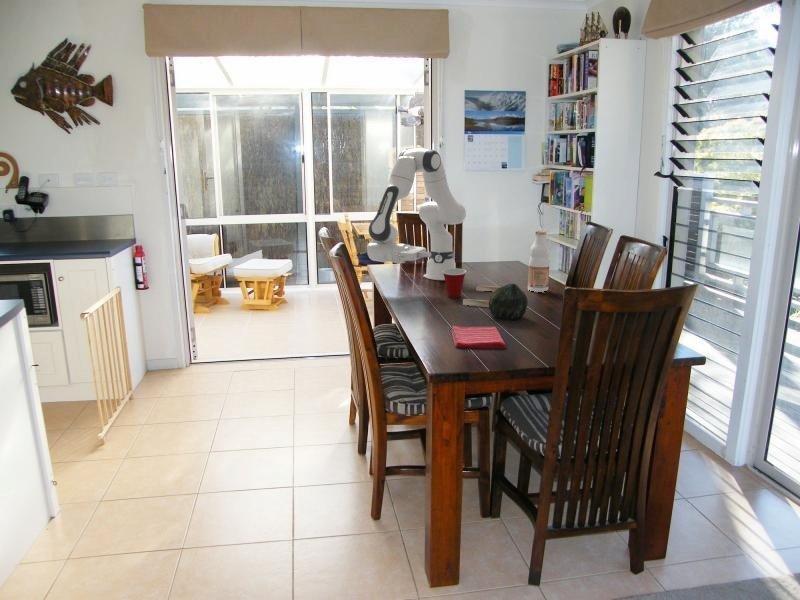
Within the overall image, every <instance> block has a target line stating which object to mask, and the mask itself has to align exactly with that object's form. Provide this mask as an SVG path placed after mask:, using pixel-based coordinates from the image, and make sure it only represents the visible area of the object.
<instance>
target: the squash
mask: <svg viewBox="0 0 800 600" xmlns="http://www.w3.org/2000/svg"><path fill="white" fill-rule="evenodd" d="M499 287H500V288H498V289H496V290H495V291H494V292H491V295H490V298H489V299H488V301H489V307H488V309H489V311H490V314H491V315H492V317H495V318H497V319H498V318H500V319H503V318H504V319H506V320H511V321H516V320H520V319H522V317H524V316H525V314H526V312H527V308H528V306H529V305H528V303H529V302H528V297H527V295H526V293H524V291H523V290H522V289H521V288H520V287H519V286H518V285H517V284H516V283H509V284H505V285H503V286H499Z"/></svg>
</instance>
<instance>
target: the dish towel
mask: <svg viewBox="0 0 800 600" xmlns="http://www.w3.org/2000/svg"><path fill="white" fill-rule="evenodd" d="M451 335H452V339H453V343H454V346H455V348H456V349H506V347H507V345H506V343H505V342H504V339H503V338H502V336H501V333H500V332H499V330H498V329H497V327H496V326H458V325H451Z"/></svg>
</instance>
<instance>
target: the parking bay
mask: <svg viewBox="0 0 800 600" xmlns="http://www.w3.org/2000/svg"><path fill="white" fill-rule="evenodd" d="M500 287H501V286H496V285H495V286H494V285H491V286H489V285H480V284H479V285H476V292H484V291H492V292H491V293H493V292H494V291H495V290H496V289H498V288H500ZM467 305H469V306H470V307H480V308H481V307H482V308H483V307H484V308H489V300H482V299H468V298H463V299H462V306H467ZM469 306H468V307H469Z"/></svg>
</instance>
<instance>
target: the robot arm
mask: <svg viewBox="0 0 800 600" xmlns="http://www.w3.org/2000/svg"><path fill="white" fill-rule="evenodd" d="M397 157H398V158H397V159H396V161H395V163H394V165H393V168H392V170H391V173H390V176H389V180H388V182H387V187H386V189H385V191H384V194H383V196H382V199H381V201H380V204H379V207H378V209H377V213H376V214H375V217H374V218H373V219H372V221H371V222H370V223H369V226H368V233H369V236H370V238H372V239H371V241H370V242H369V243H368V244H367V245H366V254H367V257H368V258H369V259H370V260H371V261H374V262H381V263H387V262H388V263H389V262H391V263H396V264H399V263H400V264H405V263H406V261H407V262H414V261H417V260H420V259H421V258H429V259H428V260H427V262H426V273H425V274H423V278H426V279H428V280H434V281H445V278H444V274H443V272H442V271H443V270H445V269H450V268H457V267H456V265H457V264H456V261H455V260H454V249H453V235H452V234H451V232H449V231H448V230H447V229H446V227H445V225H452V226H453V225H459V224H462V223H463V222H464V221H465V218H466V215H467V213H466V212H467V211H466V208H465V206H464V205H462V204H461V203H460V202H459V201H458V200H457V199H456V198H455V197H454V196H453V194H452V192H451V190H450V187H449V184H448V180H447V175H446V170H445V168H444V165H443V164H444V163H443V162H442V157H441V156H440V153H439V152H438V151H436V150H434V149H427V148H422V147H421V148H420V147H419V148H405V149H403V150H402V151H401V152H400V153H399V155H398V156H397ZM416 173H422V177H423V182H424V187H425V191H426V195H427V196H428V197H429V198H430V199H432V200H433V201H427V202H423V203H422V204H421V205H420V207H419V208H418V209H419V210H418V215H419V218H420V220H421V221H422V222H423V223H424V224H425V225H426V227H427V229H428V232H429V236H430V250H429V252H428V251H427V248H426V247H423V246H418V245H417V246H415V245H410V244H407V243H397V241H398V237H399V236H398V235H399V232H398V229H397V228H396V227H395V226H394V225H393V224H391V218H392V215H393V211H394V209H395V206H396V204H397V203H398V201H400V200H403V199H405V198H407V197H408V196H409V195H410V193H411V191H412V188H413V184H414V180H415V176H416Z"/></svg>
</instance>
